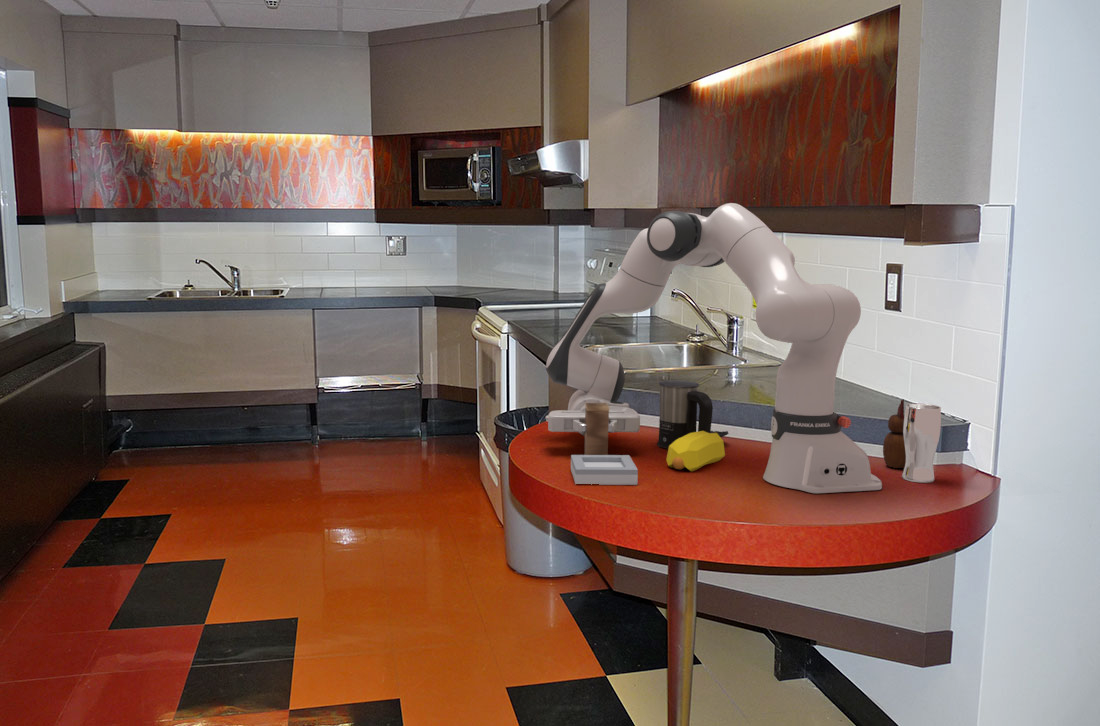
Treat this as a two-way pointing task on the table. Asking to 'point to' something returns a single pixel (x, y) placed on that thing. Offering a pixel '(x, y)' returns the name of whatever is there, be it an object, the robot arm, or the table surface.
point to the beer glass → (920, 441)
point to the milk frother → (683, 411)
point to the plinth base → (604, 469)
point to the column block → (596, 429)
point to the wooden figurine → (895, 440)
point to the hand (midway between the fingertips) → (597, 428)
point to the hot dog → (695, 450)
